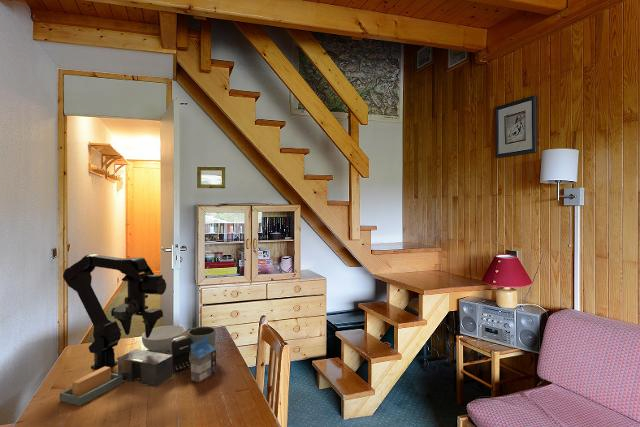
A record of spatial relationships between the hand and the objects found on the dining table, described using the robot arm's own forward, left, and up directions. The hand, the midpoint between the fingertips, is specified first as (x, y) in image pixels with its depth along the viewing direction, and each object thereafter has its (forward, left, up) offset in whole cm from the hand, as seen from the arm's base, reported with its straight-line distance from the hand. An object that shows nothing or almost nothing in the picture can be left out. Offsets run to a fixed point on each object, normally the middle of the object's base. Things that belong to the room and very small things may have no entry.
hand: (137, 336), depth 147 cm
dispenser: (+8, -5, -12) cm, 15 cm away
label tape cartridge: (+26, +3, -12) cm, 29 cm away
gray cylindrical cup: (+18, +13, -12) cm, 25 cm away
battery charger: (+15, +5, -12) cm, 20 cm away
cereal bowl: (-5, +19, -12) cm, 23 cm away
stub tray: (-1, -18, -12) cm, 22 cm away
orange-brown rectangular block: (-1, -18, -12) cm, 21 cm away
